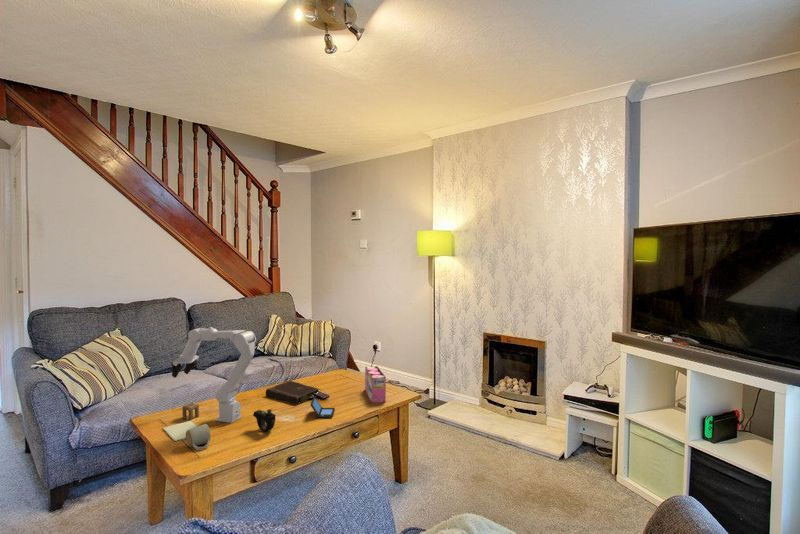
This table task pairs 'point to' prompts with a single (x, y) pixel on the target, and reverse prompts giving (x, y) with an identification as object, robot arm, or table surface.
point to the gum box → (375, 384)
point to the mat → (179, 430)
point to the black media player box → (291, 392)
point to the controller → (265, 419)
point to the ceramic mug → (198, 436)
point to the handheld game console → (321, 410)
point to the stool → (190, 410)
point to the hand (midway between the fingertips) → (179, 374)
